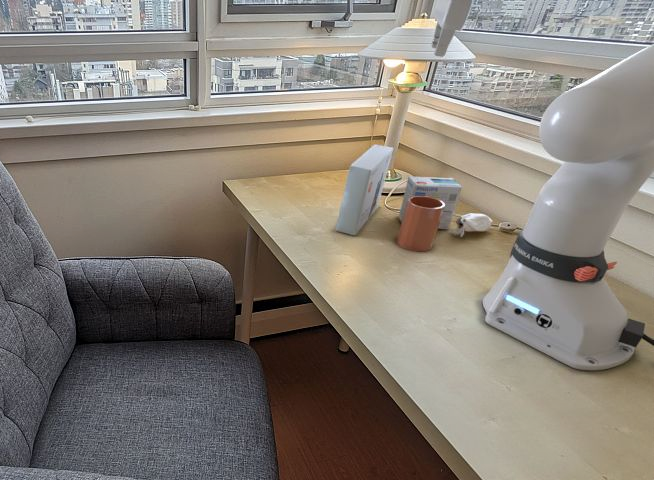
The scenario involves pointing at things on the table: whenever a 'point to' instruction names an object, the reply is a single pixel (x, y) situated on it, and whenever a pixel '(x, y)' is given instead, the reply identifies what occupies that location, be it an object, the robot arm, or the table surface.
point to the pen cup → (420, 223)
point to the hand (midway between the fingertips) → (437, 51)
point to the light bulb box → (434, 195)
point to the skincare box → (363, 188)
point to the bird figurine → (472, 223)
